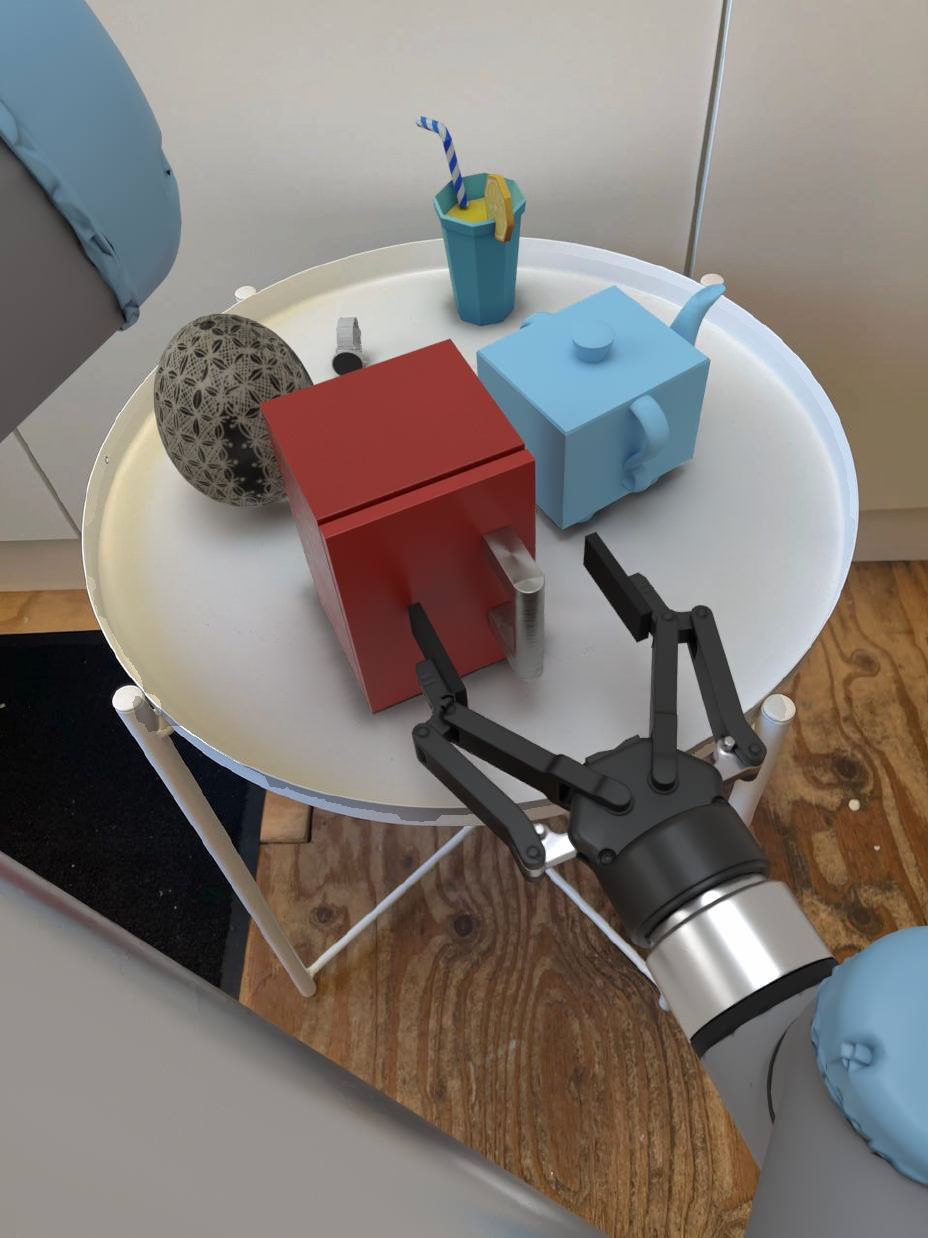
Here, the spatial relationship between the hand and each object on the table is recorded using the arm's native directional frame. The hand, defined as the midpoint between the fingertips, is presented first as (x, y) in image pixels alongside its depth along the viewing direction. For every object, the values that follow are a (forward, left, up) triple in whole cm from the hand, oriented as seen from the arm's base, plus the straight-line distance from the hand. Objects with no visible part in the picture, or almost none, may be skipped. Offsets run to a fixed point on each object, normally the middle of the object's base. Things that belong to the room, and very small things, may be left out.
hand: (504, 582), depth 57 cm
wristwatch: (-18, +28, -10) cm, 35 cm away
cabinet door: (-2, -3, -9) cm, 10 cm away
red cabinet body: (-7, +4, -10) cm, 12 cm away
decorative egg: (-22, +14, -10) cm, 28 cm away
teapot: (+5, +21, -10) cm, 24 cm away
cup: (-9, +39, -10) cm, 41 cm away
